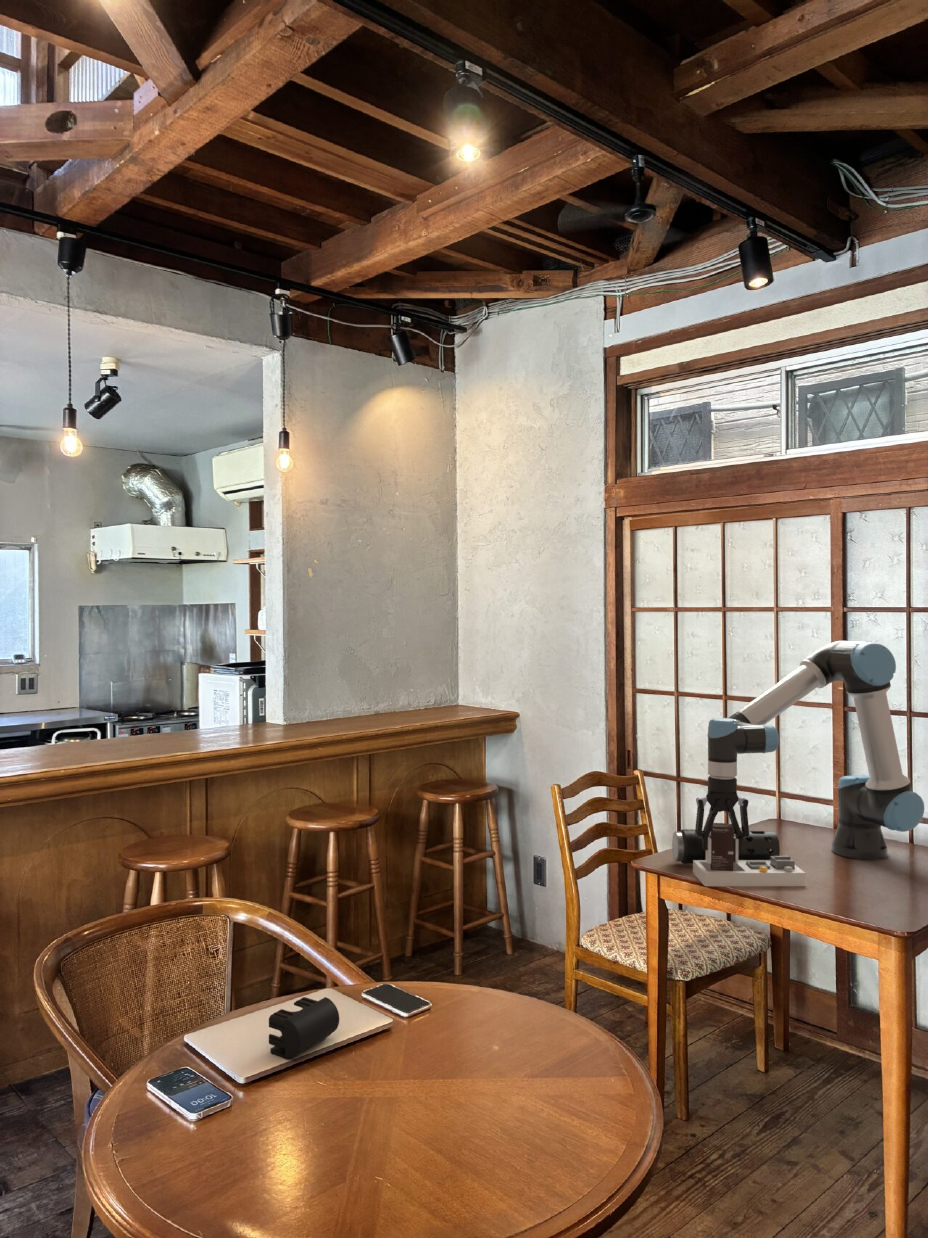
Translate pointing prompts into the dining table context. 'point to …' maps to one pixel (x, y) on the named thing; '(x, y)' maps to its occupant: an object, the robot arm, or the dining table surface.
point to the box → (722, 846)
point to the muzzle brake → (753, 846)
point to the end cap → (302, 1026)
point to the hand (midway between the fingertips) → (721, 862)
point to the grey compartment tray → (748, 875)
